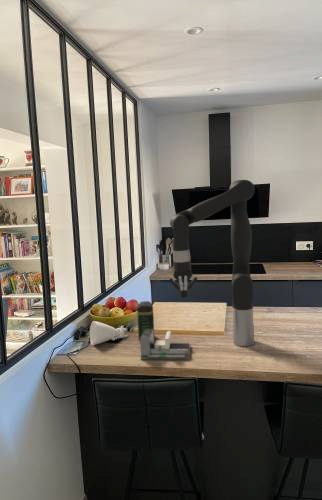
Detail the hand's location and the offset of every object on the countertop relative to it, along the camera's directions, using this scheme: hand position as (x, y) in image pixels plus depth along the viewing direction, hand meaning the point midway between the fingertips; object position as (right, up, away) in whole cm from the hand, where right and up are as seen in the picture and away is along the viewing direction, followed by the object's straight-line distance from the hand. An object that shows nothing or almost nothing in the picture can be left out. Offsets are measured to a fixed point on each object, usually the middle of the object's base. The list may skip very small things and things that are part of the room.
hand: (184, 298), depth 167 cm
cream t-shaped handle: (-10, -24, +1) cm, 26 cm away
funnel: (-36, -24, +20) cm, 48 cm away
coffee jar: (-18, -23, +20) cm, 35 cm away
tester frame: (-8, -25, +2) cm, 26 cm away
